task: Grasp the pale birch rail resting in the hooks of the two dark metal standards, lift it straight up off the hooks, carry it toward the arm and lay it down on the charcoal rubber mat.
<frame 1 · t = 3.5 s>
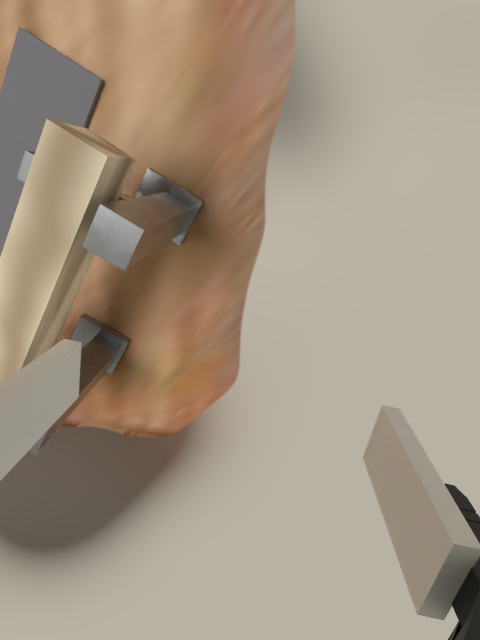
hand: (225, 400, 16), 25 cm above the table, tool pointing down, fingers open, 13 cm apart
rail: (51, 290, 31), point 10 cm above the table, touching rack
rack: (114, 271, 41), on the table
mat: (15, 203, 39), on the table
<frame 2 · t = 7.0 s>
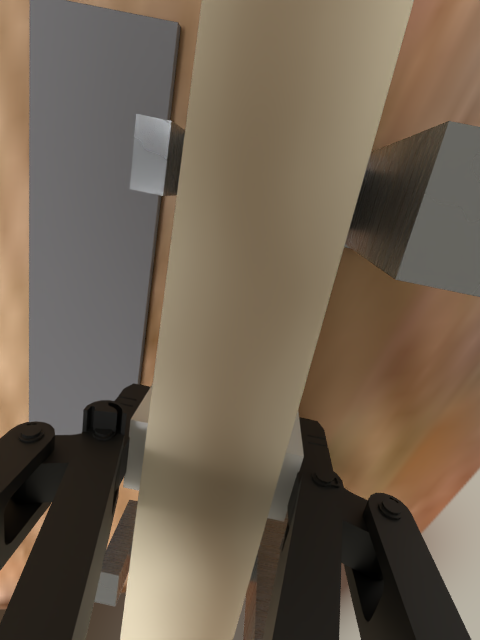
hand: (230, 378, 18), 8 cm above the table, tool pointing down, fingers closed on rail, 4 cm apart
rail: (225, 403, 16), point 10 cm above the table, touching gripper, rack
rack: (263, 329, 25), on the table
mat: (92, 279, 25), on the table
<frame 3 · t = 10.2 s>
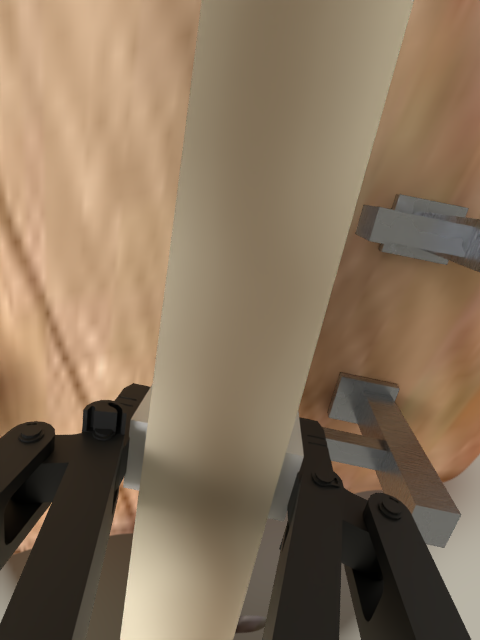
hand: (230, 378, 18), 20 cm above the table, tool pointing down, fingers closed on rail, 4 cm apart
rail: (224, 403, 16), point 22 cm above the table, touching gripper
rack: (368, 316, 37), on the table
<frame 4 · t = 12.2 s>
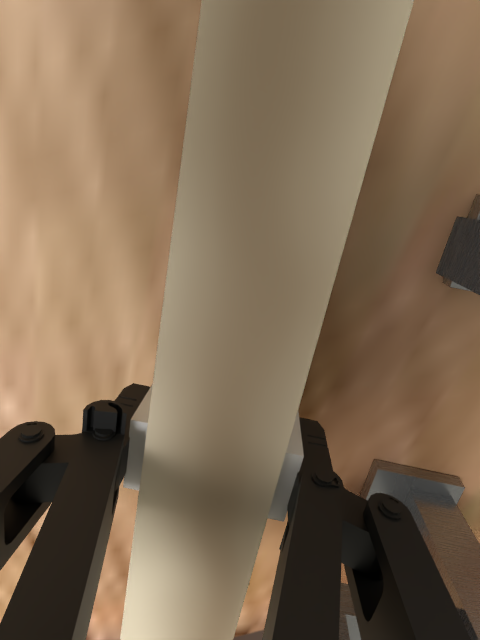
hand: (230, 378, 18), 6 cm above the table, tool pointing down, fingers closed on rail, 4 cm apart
rail: (224, 404, 16), point 9 cm above the table, touching gripper
rack: (420, 382, 24), on the table
when the fingers open (1 cm above the table, at t = 13.6 s): rail drops 3 cm, resting on mat.
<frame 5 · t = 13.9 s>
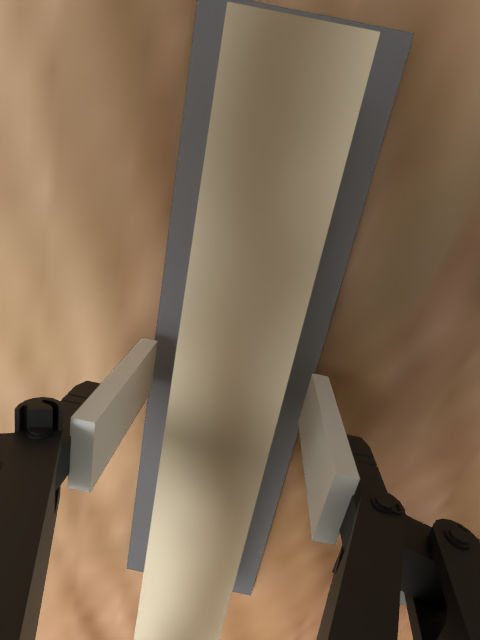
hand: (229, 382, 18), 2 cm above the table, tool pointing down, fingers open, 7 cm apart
rail: (231, 373, 19), point 1 cm above the table, touching mat
mat: (232, 367, 19), on the table
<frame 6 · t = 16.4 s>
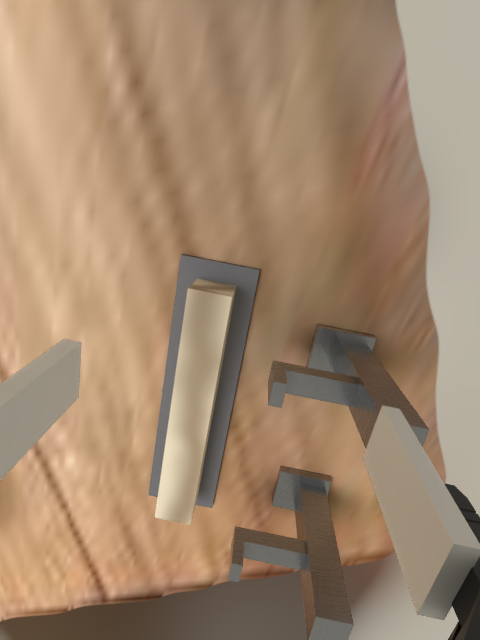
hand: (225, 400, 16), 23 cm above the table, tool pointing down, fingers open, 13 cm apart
rail: (198, 394, 42), point 1 cm above the table, touching mat
rack: (301, 420, 43), on the table
mat: (199, 392, 42), on the table
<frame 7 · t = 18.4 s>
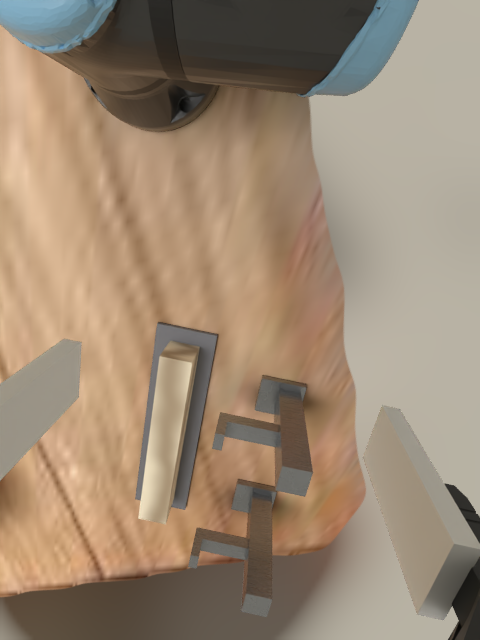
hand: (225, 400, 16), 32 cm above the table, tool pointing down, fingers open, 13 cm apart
rail: (172, 425, 54), point 1 cm above the table, touching mat
rack: (252, 445, 55), on the table
mat: (173, 422, 54), on the table
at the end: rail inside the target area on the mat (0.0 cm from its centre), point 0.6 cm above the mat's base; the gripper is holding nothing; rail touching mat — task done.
